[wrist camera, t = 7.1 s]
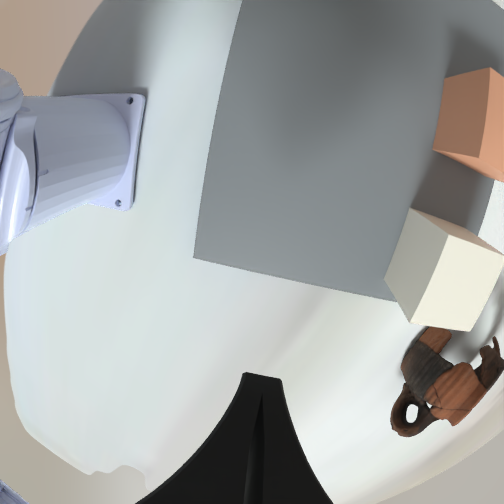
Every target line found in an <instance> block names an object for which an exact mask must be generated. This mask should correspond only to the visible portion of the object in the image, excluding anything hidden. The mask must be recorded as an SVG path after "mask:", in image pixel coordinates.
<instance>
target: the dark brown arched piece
mask: <svg viewBox="0 0 504 504" xmlns="http://www.w3.org/2000/svg"><path fill="white" fill-rule="evenodd" d="M451 337H452V334H451V332H450V331H449V330H447V329H445V328H439V327H432V326H430V327H429V328H428V329H427V330H426V331H425V332H424V333H423V335H422V336H421V337H420V338H419V340H418V341H417V342H416V343H415V345H414V346H413V347H412V348H411V349H410V350H409V352H408V353H407V355H406V356H405V358H404V359H403V362H402V364H401V370H402V372H403V375H404V378H405V381H406V383H404V385H403V390H402V392H401V394H400V396H399V397H398V398H397V400H396V402H395V403H394V405H393V408H392V411H391V418H390V422H391V425H392V429H393V430H395V431H396V432H398V435H400V436H403V437H411V436H415V435H417V434H419V433H420V432H422V431H423V430H424V429H425V428H426V427H427V426H428V425H430V424H431V423H432V422H434V421H436V420H439V419H441V420H444V419H447V420H448V421H449V422H450V423H451V425H452V426H455V425H457V424H458V423H459V422H460V421H461V420H462V419H464V418H465V417H466V416H467V415H468V414H469V413H470V411H471V410H472V408H474V407H475V406H476V405H477V404H478V402H479V401H480V400H481V399H482V398H483V397H484V395H485V394H486V393H487V391H489V390H490V388H491V387H492V386H493V385H494V383H495V382H496V381H497V379H498V378H499V376H500V375H501V374H502V372H503V370H504V359H502V358H501V357H500V348H499V344H498V341H497V339H496V337H495V336H494V337H493V338H492V340H493V343H494V348H493V349H492V348H491V347H490V346H489V345H487V346H484V347H482V348H481V349H480V355H481V357H482V363H481V365H480V366H479V367H477V368H476V369H475V370H473V368H472V366H471V365H470V364H467V363H464V362H461V363H459V364H456V365H455V366H454V365H453V364H452V363H450V362H448V361H447V360H445V359H444V358H442V357H441V356H440V355H439V353H440V352H441V350H442V348H443V347H444V346H445V345H446V343H447V342H448V341H449V340H450V339H451ZM426 402H428V403H429V404H431V405H432V407H431V408H429V407H428V406H427V403H426ZM410 404H414V405H416V406H418V414H417V418H416V420H415V421H414V422H413V423H408V422H407V420H406V411H407V408H408V406H409V405H410Z"/></svg>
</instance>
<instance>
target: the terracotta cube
mask: <svg viewBox="0 0 504 504" xmlns="http://www.w3.org/2000/svg"><path fill="white" fill-rule="evenodd" d="M432 150H434V151H437V152H439V153H441V154H443V155H445V156H447V157H449V158H452V159H454V160H456V161H458V162H460V163H462V164H464V165H465V166H467V167H469V168H471V169H473V170H475V171H477V172H479V173H480V174H482V175H484V176H486V177H489V178H492V179H495V180H498V181H501V182H504V77H503V76H501V75H500V74H499V73H497V72H496V71H495V70H493V69H492V68H491V67H489V68H484V69H480V70H476V71H471V72H467V73H463V74H459V75H456V76H452V77H448V78H445V79H444V85H443V93H442V100H441V106H440V112H439V118H438V124H437V129H436V134H435V139H434V143H433V148H432Z"/></svg>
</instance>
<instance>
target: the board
mask: <svg viewBox="0 0 504 504" xmlns="http://www.w3.org/2000/svg"><path fill="white" fill-rule="evenodd" d="M489 67H491V68H492V69H493V70H495V71H496V72H497V73H499V74H500V75H501V76H503V77H504V10H503V9H502V8H501V7H499V6H498V5H497V4H495V3H494V2H493V1H491V0H243V1H242V5H241V8H240V12H239V16H238V19H237V23H236V27H235V31H234V35H233V39H232V43H231V47H230V51H229V55H228V60H227V64H226V68H225V73H224V77H223V82H222V86H221V91H220V96H219V101H218V105H217V110H216V115H215V121H214V126H213V131H212V137H211V142H210V148H209V153H208V159H207V165H206V171H205V177H204V183H203V190H202V196H201V203H200V210H199V217H198V224H197V232H196V240H195V248H194V256H193V258H196V259H200V260H204V261H208V262H213V263H217V264H221V265H226V266H230V267H234V268H239V269H243V270H248V271H252V272H257V273H261V274H266V275H270V276H275V277H279V278H284V279H288V280H293V281H297V282H302V283H307V284H311V285H316V286H321V287H325V288H330V289H335V290H340V291H344V292H349V293H354V294H359V295H364V296H369V297H374V298H379V299H384V300H389V301H394V302H397V300H396V298H395V297H394V295H393V293H392V292H391V290H390V288H389V287H388V285H387V283H386V282H385V280H384V277H385V275H386V272H387V270H388V267H389V265H390V262H391V259H392V257H393V254H394V251H395V249H396V246H397V243H398V241H399V238H400V235H401V232H402V229H403V226H404V223H405V220H406V217H407V214H408V211H409V208H412V209H415V210H418V211H421V212H424V213H426V214H429V215H432V216H435V217H437V218H440V219H443V220H445V221H448V222H451V223H453V224H456V225H458V226H461V227H463V228H466V229H467V230H469V231H470V232H472V233H473V234H475V235H476V236H478V233H479V230H480V227H481V225H482V222H483V219H484V215H485V212H486V209H487V206H488V202H489V199H490V195H491V192H492V188H493V184H494V180H495V179H492V178H489V177H486V176H484V175H482V174H480V173H479V172H477V171H475V170H473V169H471V168H469V167H467V166H465V165H464V164H462V163H460V162H458V161H456V160H454V159H452V158H449V157H447V156H445V155H443V154H441V153H439V152H437V151H434V150H432V148H433V143H434V139H435V134H436V129H437V124H438V118H439V112H440V106H441V100H442V93H443V85H444V79H445V78H448V77H452V76H456V75H459V74H463V73H467V72H471V71H476V70H480V69H484V68H489Z"/></svg>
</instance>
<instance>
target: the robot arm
mask: <svg viewBox="0 0 504 504" xmlns="http://www.w3.org/2000/svg"><path fill="white" fill-rule="evenodd" d="M23 95H24V94H23V91H22V89H21V88H20V87H19V85H18V82H17V80H16V78H15V77H14V76H13V75H12V74H11V73H9V72H7V71H5V70H3V69H0V256H1V255H2V254H4V253H6V252H7V251H8V246H9V243H10V242H11V240H13V239H14V238H16V237H18V236H20V235H22V234H24V233H25V232H27V231H29V230H31V229H33V228H35V227H37V226H39V225H41V224H43V223H45V222H47V221H49V220H51V219H53V218H55V217H57V216H59V215H61V214H64V213H66V212H68V211H70V210H72V209H74V208H77V207H79V206H81V205H83V204H86V203H87V204H92V205H97V206H102V207H106V208H111V209H116V210H121V211H128V210H130V209H131V208H132V205H133V194H134V182H135V172H136V162H137V153H138V146H139V138H140V131H141V124H142V118H143V112H144V106H145V97H144V96H143V95H141V94H87V95H71V96H60V97H52V96H23ZM131 98H133V103H132V104H130V103H129V101H130V99H131ZM118 200H120V201H121V205H119V203H118ZM0 504H29V503H28V502H27V501H25V500H24V499H23V498H22V497H21V496H20V495H19V494H18V493H17V492H15V491H14V490H13V489H11V488H10V487H9V486H8V485H7V484H5V483H4V482H3V481H2V480H0ZM135 504H333V502H332V501H331V499H330V498H329V497H328V495H327V494H326V492H325V491H324V489H323V488H322V486H321V484H320V483H319V481H318V479H317V478H316V476H315V474H314V472H313V470H312V468H311V467H310V465H309V463H308V461H307V458H306V456H305V454H304V452H303V449H302V447H301V445H300V442H299V440H298V437H297V435H296V432H295V429H294V426H293V423H292V420H291V417H290V414H289V411H288V407H287V403H286V399H285V395H284V390H283V385H282V381H281V380H280V379H279V378H273V377H268V376H263V375H258V374H253V373H248V372H245V373H243V374H242V378H241V382H240V385H239V387H238V390H237V392H236V394H235V396H234V398H233V400H232V402H231V403H230V405H229V407H228V408H227V410H226V412H225V414H224V415H223V417H222V418H221V420H220V421H219V423H218V424H217V425H216V427H215V428H214V430H213V431H212V432H211V434H210V435H209V436H208V438H207V439H206V440H205V441H204V443H203V444H202V445H201V446H200V447H199V449H198V450H197V451H196V452H195V453H194V454H193V455H192V456H191V457H190V458H189V459H188V460H187V461H186V462H185V463H184V464H183V466H182V467H181V468H179V469H178V470H177V471H176V472H175V473H174V474H173V475H172V476H171V477H170V478H168V479H167V480H166V481H165V482H164V483H162V484H161V485H160V486H159V487H158V488H156V489H155V490H154V491H153V492H151V493H150V494H148V495H147V496H146V497H144V498H143V499H141V500H140V501H138V502H137V503H135Z"/></svg>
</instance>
